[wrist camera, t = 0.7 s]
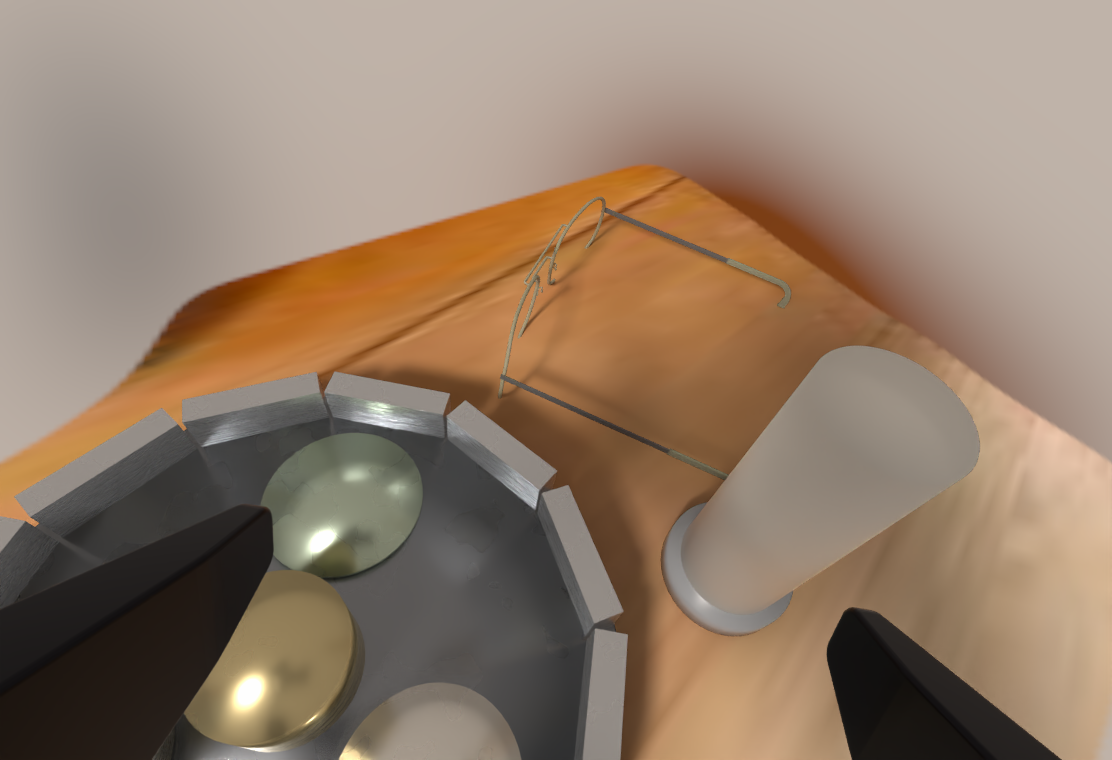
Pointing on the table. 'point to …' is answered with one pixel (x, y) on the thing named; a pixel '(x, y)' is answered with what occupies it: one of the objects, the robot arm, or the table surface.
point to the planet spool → (818, 486)
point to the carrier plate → (359, 575)
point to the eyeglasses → (537, 280)
